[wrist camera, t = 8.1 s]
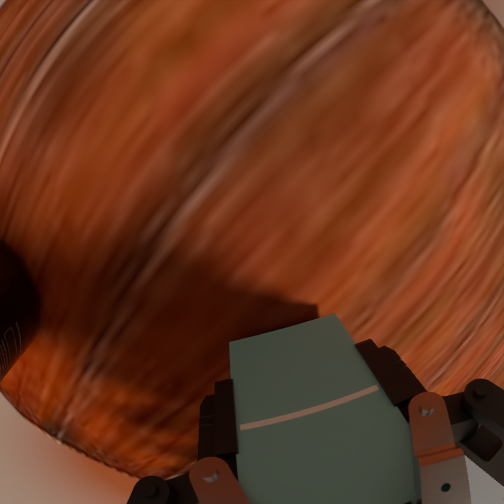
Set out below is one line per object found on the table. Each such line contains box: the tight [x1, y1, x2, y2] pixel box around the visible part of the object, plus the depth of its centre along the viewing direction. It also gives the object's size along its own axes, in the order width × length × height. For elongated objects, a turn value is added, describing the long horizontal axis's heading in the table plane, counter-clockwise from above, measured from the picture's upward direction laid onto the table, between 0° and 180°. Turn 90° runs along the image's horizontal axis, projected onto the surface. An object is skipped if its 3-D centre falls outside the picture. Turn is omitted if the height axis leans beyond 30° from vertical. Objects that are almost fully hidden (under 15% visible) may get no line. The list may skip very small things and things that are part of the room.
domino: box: [229, 313, 444, 504], centre depth 8 cm, size 2×5×10 cm, turn 104°
